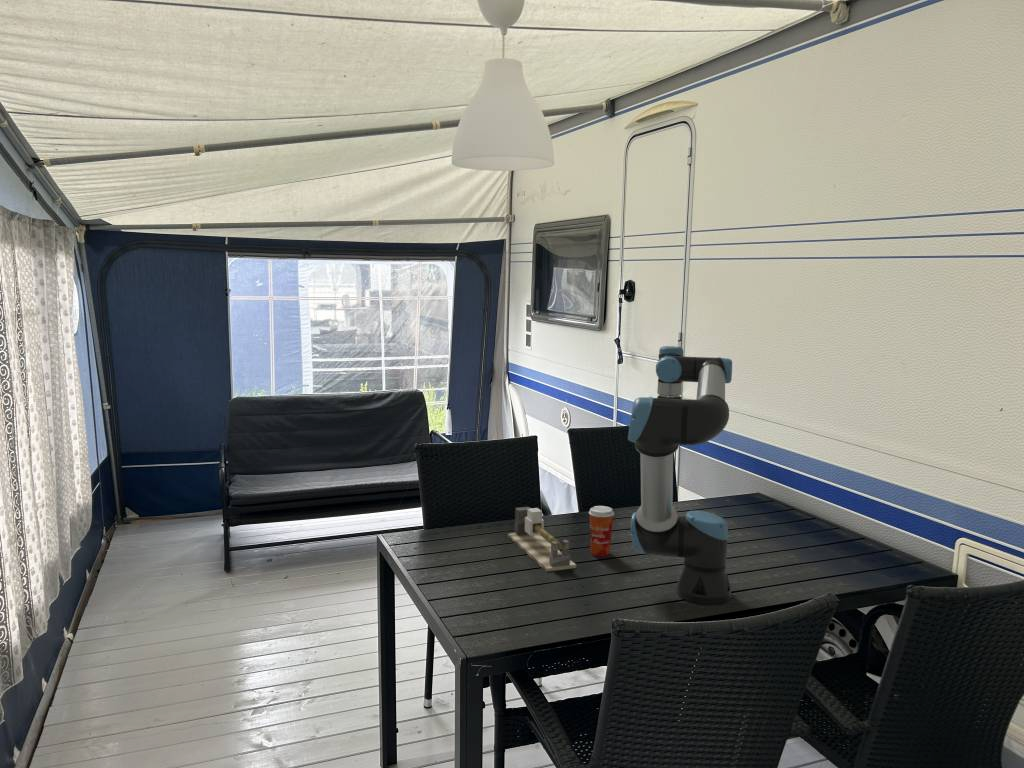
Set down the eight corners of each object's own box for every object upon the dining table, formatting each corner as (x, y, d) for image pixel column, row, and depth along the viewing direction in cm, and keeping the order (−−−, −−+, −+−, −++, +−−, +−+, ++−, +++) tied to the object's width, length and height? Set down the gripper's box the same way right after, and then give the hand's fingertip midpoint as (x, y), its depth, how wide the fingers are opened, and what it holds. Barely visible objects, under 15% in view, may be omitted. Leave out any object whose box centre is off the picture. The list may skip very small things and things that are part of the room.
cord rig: (576, 567, 239) (577, 536, 237) (546, 571, 235) (547, 540, 234) (534, 533, 270) (535, 505, 269) (508, 536, 267) (508, 508, 265)
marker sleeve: (543, 534, 256) (544, 511, 255) (530, 535, 254) (530, 512, 253) (537, 529, 260) (538, 507, 259) (524, 531, 259) (525, 508, 258)
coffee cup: (583, 554, 250) (584, 510, 248) (593, 547, 257) (594, 503, 255) (607, 559, 246) (609, 514, 244) (616, 551, 253) (618, 507, 251)
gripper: (691, 398, 237) (687, 472, 241) (668, 391, 250) (665, 462, 253) (670, 399, 235) (667, 474, 238) (648, 392, 247) (645, 464, 250)
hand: (666, 468), depth 245 cm, fingers closed
